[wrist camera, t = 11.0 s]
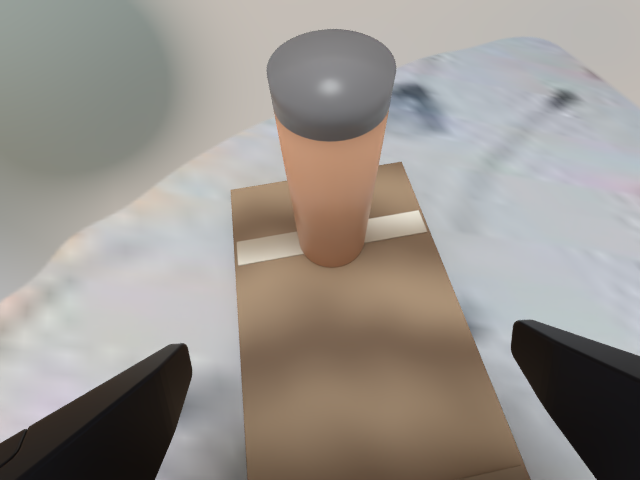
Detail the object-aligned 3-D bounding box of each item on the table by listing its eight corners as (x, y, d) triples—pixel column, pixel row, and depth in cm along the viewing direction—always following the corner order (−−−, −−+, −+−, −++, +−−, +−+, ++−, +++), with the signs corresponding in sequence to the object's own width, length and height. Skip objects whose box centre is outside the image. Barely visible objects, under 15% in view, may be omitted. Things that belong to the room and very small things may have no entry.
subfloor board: (592, 662, 12) (615, 685, 11) (270, 747, 11) (264, 779, 10) (399, 171, 23) (401, 160, 22) (234, 198, 23) (230, 189, 22)
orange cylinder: (377, 244, 19) (424, 74, 10) (322, 280, 18) (311, 129, 9) (339, 200, 21) (345, 16, 11) (286, 230, 20) (244, 57, 10)
